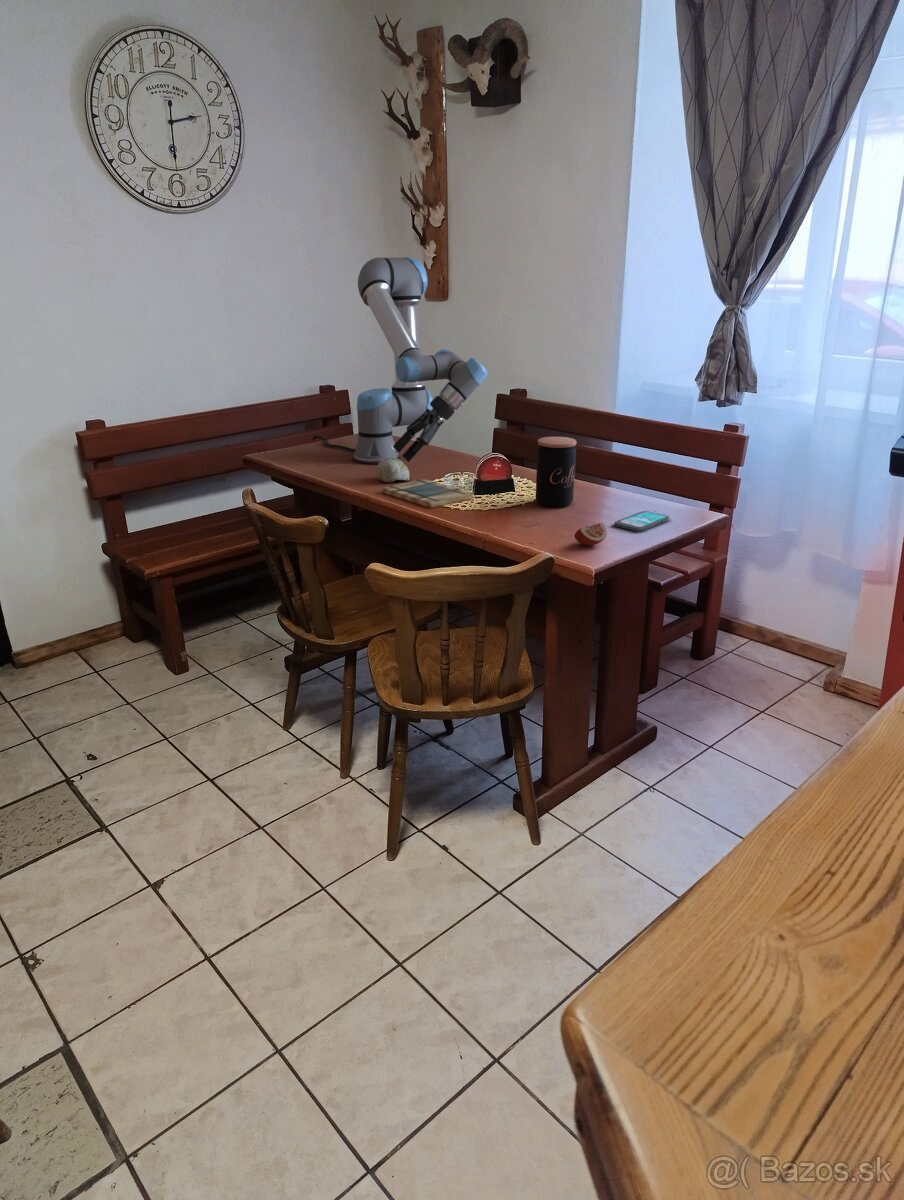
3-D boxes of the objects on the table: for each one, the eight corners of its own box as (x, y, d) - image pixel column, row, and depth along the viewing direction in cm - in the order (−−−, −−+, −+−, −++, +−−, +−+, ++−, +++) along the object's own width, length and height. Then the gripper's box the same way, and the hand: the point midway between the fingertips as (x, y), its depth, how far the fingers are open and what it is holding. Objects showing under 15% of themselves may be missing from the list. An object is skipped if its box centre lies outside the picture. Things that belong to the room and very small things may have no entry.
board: (383, 492, 242) (382, 487, 241) (423, 483, 252) (423, 478, 251) (431, 508, 227) (431, 502, 226) (472, 497, 237) (472, 492, 236)
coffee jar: (548, 510, 225) (551, 445, 218) (528, 501, 234) (530, 438, 227) (580, 505, 229) (584, 442, 222) (559, 496, 238) (562, 435, 231)
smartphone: (612, 521, 212) (644, 509, 221) (612, 525, 212) (643, 513, 222) (640, 528, 206) (671, 516, 216) (640, 532, 206) (671, 519, 216)
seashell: (411, 473, 261) (410, 449, 253) (407, 494, 254) (406, 469, 247) (380, 471, 261) (378, 446, 253) (375, 491, 255) (373, 467, 247)
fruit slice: (591, 538, 203) (592, 518, 201) (612, 544, 198) (613, 525, 196) (568, 544, 198) (569, 525, 196) (589, 552, 193) (590, 532, 191)
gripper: (466, 418, 241) (418, 471, 243) (444, 404, 263) (400, 453, 265) (449, 400, 237) (400, 454, 240) (428, 388, 260) (383, 438, 262)
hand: (400, 454), depth 252 cm, fingers open, 13 cm apart
